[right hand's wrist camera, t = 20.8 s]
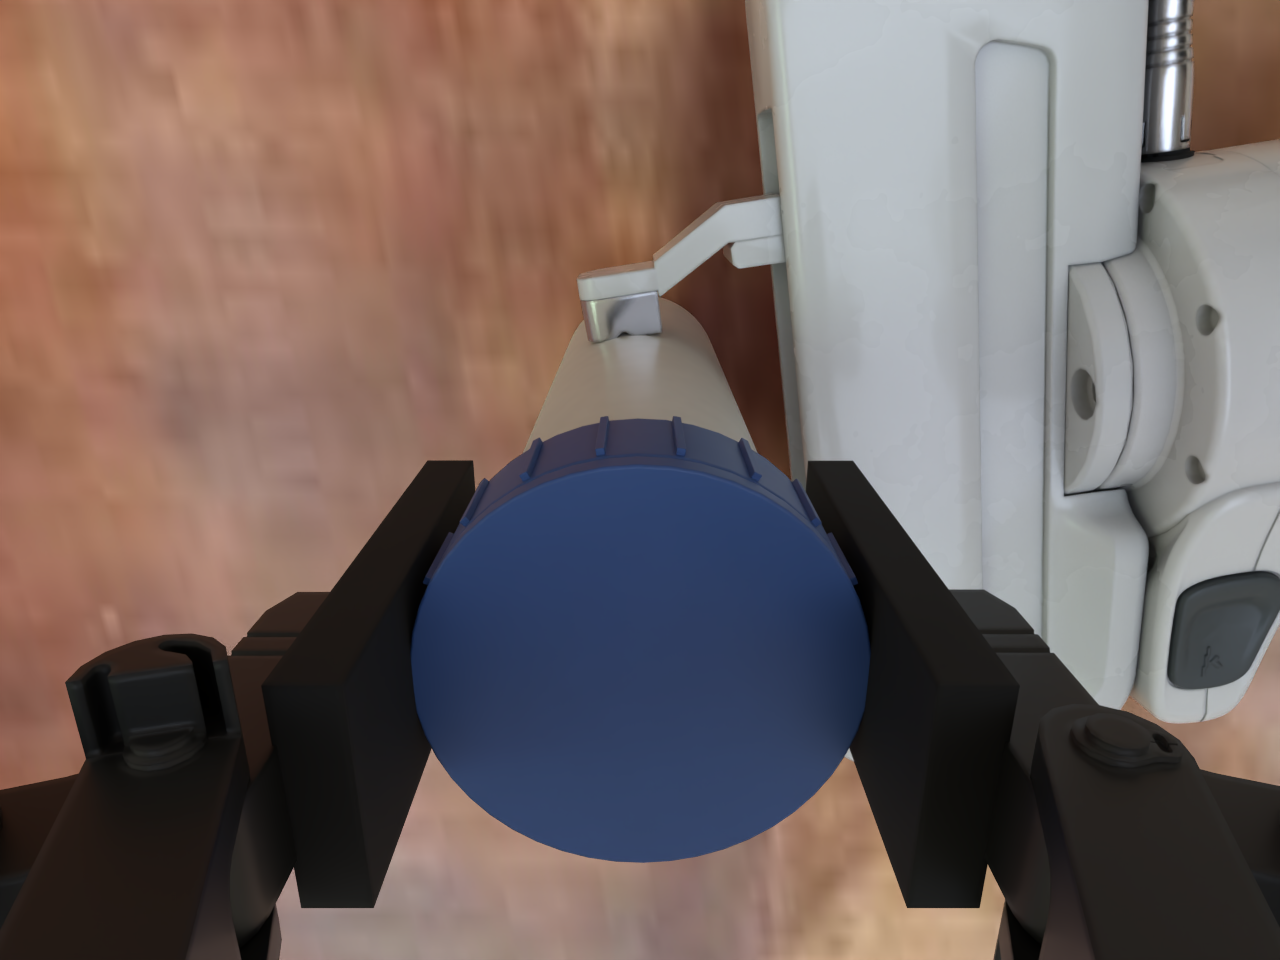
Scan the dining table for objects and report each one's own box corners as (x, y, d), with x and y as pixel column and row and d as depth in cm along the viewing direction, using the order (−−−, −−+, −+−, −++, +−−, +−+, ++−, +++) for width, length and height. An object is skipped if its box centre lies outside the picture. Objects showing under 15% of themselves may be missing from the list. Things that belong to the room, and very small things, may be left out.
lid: (899, 468, 11) (951, 524, 9) (772, 802, 13) (794, 904, 11) (481, 365, 11) (448, 403, 9) (411, 727, 13) (372, 821, 11)
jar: (546, 315, 26) (405, 527, 10) (697, 277, 26) (787, 437, 10) (587, 457, 28) (517, 827, 12) (729, 423, 27) (850, 760, 12)
